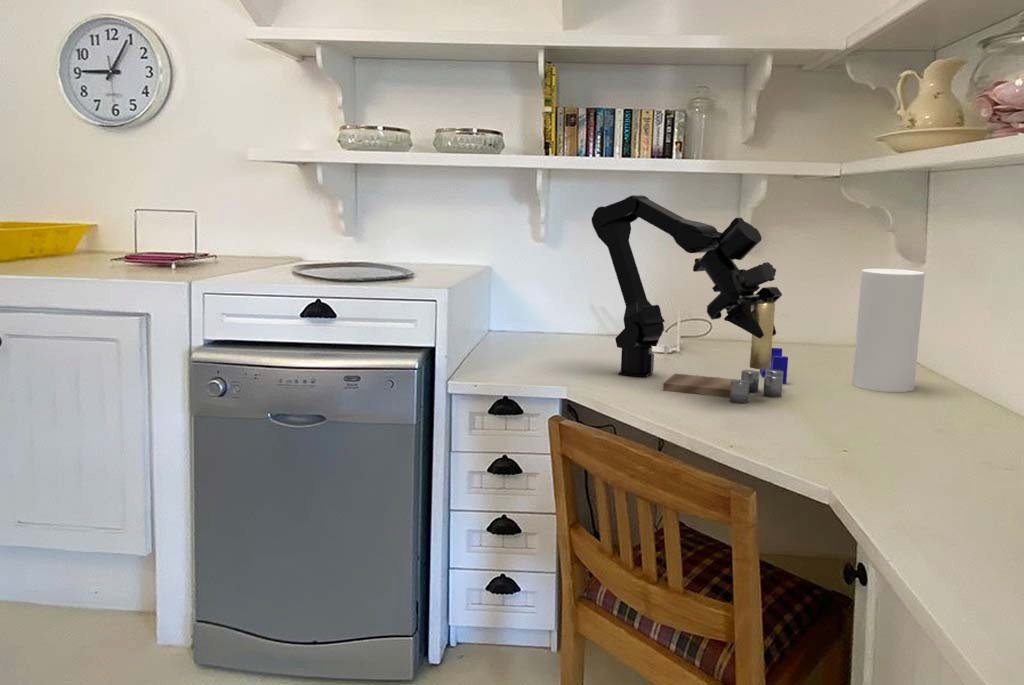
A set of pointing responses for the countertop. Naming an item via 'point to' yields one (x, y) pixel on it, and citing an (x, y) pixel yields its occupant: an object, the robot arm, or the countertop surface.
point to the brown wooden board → (698, 385)
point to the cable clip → (777, 363)
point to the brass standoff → (763, 346)
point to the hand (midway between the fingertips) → (768, 335)
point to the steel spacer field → (756, 385)
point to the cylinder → (888, 329)
